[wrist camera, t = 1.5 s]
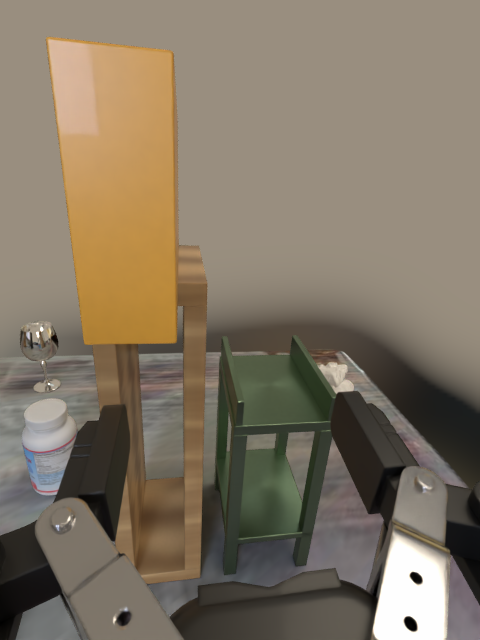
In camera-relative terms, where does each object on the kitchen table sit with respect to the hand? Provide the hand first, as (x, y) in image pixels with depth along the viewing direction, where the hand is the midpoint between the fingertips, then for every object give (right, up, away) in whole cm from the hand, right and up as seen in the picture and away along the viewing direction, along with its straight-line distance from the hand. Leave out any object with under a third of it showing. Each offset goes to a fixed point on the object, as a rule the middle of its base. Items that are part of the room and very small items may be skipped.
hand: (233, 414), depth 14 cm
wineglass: (-35, -9, +53) cm, 64 cm away
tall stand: (-9, -21, +29) cm, 36 cm away
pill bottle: (-24, -18, +34) cm, 45 cm away
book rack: (+2, -21, +30) cm, 37 cm away
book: (-6, +7, +12) cm, 15 cm away
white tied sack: (+15, -13, +51) cm, 55 cm away
